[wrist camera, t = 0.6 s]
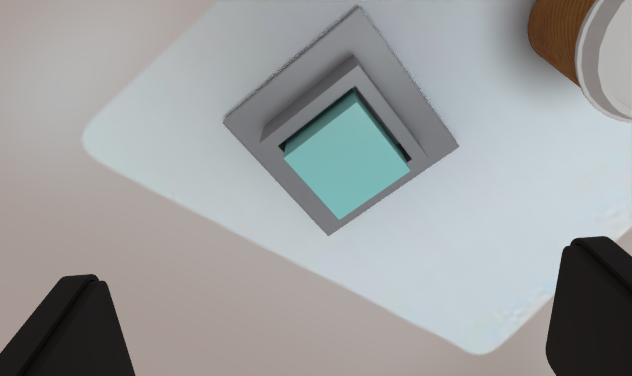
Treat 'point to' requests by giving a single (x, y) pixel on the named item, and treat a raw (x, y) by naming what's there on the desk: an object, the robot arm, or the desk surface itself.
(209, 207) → the desk surface
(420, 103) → the button housing
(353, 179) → the button cap
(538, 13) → the disposable coffee cup
